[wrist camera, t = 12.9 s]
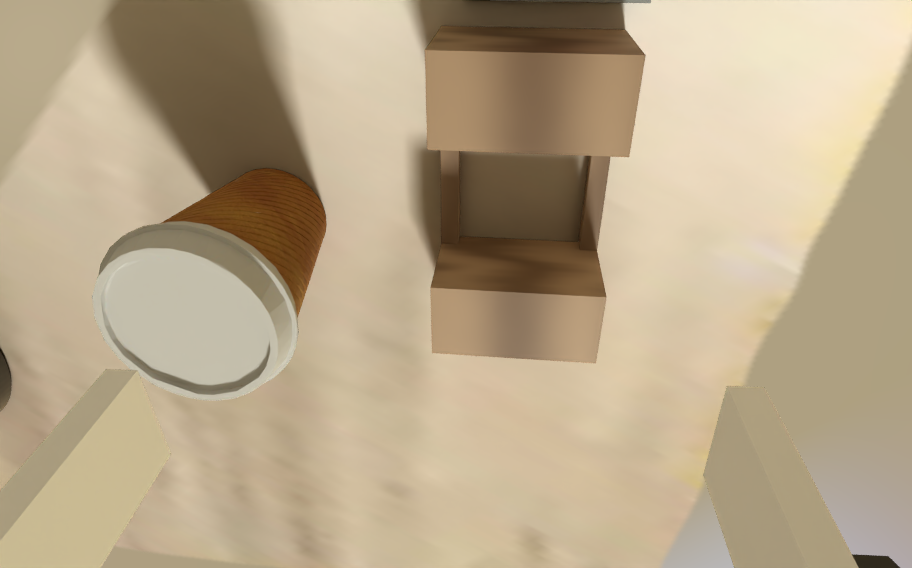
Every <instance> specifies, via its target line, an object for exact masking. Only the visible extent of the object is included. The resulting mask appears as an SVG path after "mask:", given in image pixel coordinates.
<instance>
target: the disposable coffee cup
mask: <svg viewBox="0 0 912 568" xmlns="http://www.w3.org/2000/svg"><path fill="white" fill-rule="evenodd" d="M325 232H326V215H325V212H324V208H323V206H322V204H321V202H320V200H319V198H318V197H317V195H316V194H315V193H314V192H313V190H312V189H311V188H310V187H309V186H308V185H307V184H306V183H305V182H303V181H302V180H300V179H299V178H297V177H295V176H294V175H292V174H289V173H287V172H284V171H281V170H277V169H268V168H263V169H255V170H252V171H250V172H247V173H245V174H244V175H242V176H240V177H239V178H237V179H235V180H234V181H232V182H230V183H229V184H227V185H225V186H223V187H222V188H220V189H218V190H217V191H215V192H213V193H211V194H210V195H208V196H206V197H205V198H203V199H201V200H200V201H198V202H196V203H194V204H193V205H191V206H189V207H187V208H186V209H184V210H183V211H181V212H179V213H177V214H176V215H174V216H172V217H171V218H169V219H167V220H165V221H164V222H162V223H160V224H154V225H147V226H143V227H140V228H138V229H136V230H134V231H131V232H129V233H127V234H126V235H124V236H123V237H121V238H120V239H119V240H118V241H117V242H116V243H114V244H113V245H112V246H111V247H110V248H109V250H108V252H107V254H106V255H105V257H104V259H103V261H102V263H101V265H100V270H99V276H98V278H97V281H96V284H95V288H94V292H93V295H92V300H93V309H94V317H95V321H96V323H97V325H98V327H99V329H100V331H101V334H102V336H103V338H104V340H105V342H106V343H107V344H108V346H109V347H110V348H111V349H112V351H113V352H114V353H115V354H116V356H117V357H118V358H119V359H120V360H121V361H122V362H123V363H124V364H125V365H126V366H128V367H129V368H130V369H131V370H138V372H139V375H140V376H142V377H143V378H145V379H146V380H148V381H149V382H151V383H152V384H154V385H155V386H157V387H160V388H162V389H164V390H167V391H169V392H171V393H174V394H177V395H181V396H184V397H188V398H193V399H199V400H216V401H217V400H226V399H235V398H237V397H240V396H243V395H245V394H248V393H251V392H252V391H254V390H255V389H257V388H258V387H259V386H261V385H262V384H263V383H265V382H267V381H269V380H272V379H273V378H274V377H275V376H276V375H278V374H279V373H280V372H281V371H282V370H283V369H284V368H285V367H286V365H287V364H288V362H289V361H290V359H291V358H292V356H293V354H294V351H295V348H296V343H297V338H298V332H299V331H298V321H297V318H298V314H299V312H300V308H301V306H302V302H303V299H304V296H305V293H306V290H307V287H308V284H309V281H310V278H311V275H312V272H313V268H314V266H315V262H316V259H317V256H318V253H319V250H320V247H321V244H322V241H323V238H324V235H325Z"/></svg>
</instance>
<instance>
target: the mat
mask: <svg viewBox="0 0 912 568" xmlns="http://www.w3.org/2000/svg"><path fill="white" fill-rule="evenodd" d="M492 1H553V2H614V3H651V0H492Z"/></svg>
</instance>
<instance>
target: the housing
mask: <svg viewBox="0 0 912 568" xmlns="http://www.w3.org/2000/svg"><path fill="white" fill-rule="evenodd" d="M644 61H645V54H644V53H643V52H642V50H641V49H640V48H639V46H638V45H637V44H636V43H635V41H634V40H633V39H632V37H631V36H630V35H629V34H628V32H627V31H626V30H616V29H566V28H515V27H465V26H441V28H440V29H439V30H438V32H437V33H436V35H435V36H434V38H433V39H432V41H431V42H430V44H429V45H428V47H427V48H426V50H425V70H426V113H427V150H440V151H441V240H442V243H441V247H440V251H439V256H438V260H437V264H436V268H435V272H434V276H433V280H432V284H431V330H432V353H441V354H457V355H473V356H488V357H504V358H520V359H536V360H551V361H567V362H583V363H596V359H597V353H598V346H599V340H600V334H601V328H602V322H603V315H604V309H605V303H606V293H605V288H604V283H603V278H602V273H601V269H600V264H599V259H598V254H597V247H598V240H599V233H600V226H601V219H602V212H603V205H604V198H605V191H606V184H607V177H608V170H609V163H610V156H611V157H629V154H630V148H631V142H632V136H633V129H634V123H635V117H636V111H637V105H638V98H639V92H640V86H641V80H642V74H643V67H644ZM460 151H474V152H501V153H529V154H556V155H584V156H589V161H588V169H587V177H586V185H585V193H584V202H583V210H582V218H581V226H580V234H579V242H568V241H547V240H526V239H505V238H484V237H463V236H460Z"/></svg>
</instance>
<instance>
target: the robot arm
mask: <svg viewBox="0 0 912 568" xmlns="http://www.w3.org/2000/svg"><path fill="white" fill-rule="evenodd" d="M10 394H11V377H10V373H9V369H8V366H7V364H6V361H5V359H4V357H3V355H2V354H1V352H0V411H1V410H2V409H3V408H4V407H5V406H6V404H7V402H8V400H9V398H10ZM170 455H171V453H170V450H169V448H168V445H167V443H166V440H165V438H164V435H163V433H162V430H161V428H160V425H159V423H158V420H157V418H156V415H155V413H154V410H153V408H152V405H151V403H150V400H149V398H148V395H147V393H146V390H145V387H144V385H143V382H142V380H141V377H140V375H139V372H138V370H110V369H106V370H105V371H104V372H103V373H102V375H101V376H100V377H99V378H98V379H97V380H96V381H95V383H94V384H93V385H92V386H91V387H90V388H89V390H88V391H87V392H86V393H85V394H84V395H83V396H82V398H81V399H80V400H79V401H78V402H77V403H76V404H75V406H74V407H73V408H72V409H71V410H70V411H69V412H68V414H67V415H66V416H65V417H64V418H63V419H62V420H61V422H60V423H59V424H58V425H57V426H56V427H55V428H54V430H53V431H52V432H51V433H50V434H49V435H48V436H47V438H46V439H45V440H44V441H43V442H42V443H41V444H40V446H39V447H38V448H37V449H36V450H35V451H34V452H33V454H32V455H31V456H30V457H29V458H28V459H27V460H26V462H25V463H24V464H23V465H22V466H21V467H20V468H19V470H18V471H17V472H16V473H15V474H14V475H13V476H12V478H11V479H10V480H9V481H8V482H7V483H6V484H5V486H4V487H3V488H2V489H1V490H0V568H101V566H102V565H103V563H104V561H105V560H106V558H107V557H108V555H109V553H110V552H111V550H112V549H113V547H114V545H115V544H116V542H117V541H118V539H119V537H120V536H121V534H122V533H123V531H124V529H125V528H126V526H127V525H128V523H129V521H130V520H131V518H132V516H133V515H134V513H135V512H136V510H137V508H138V507H139V505H140V504H141V502H142V500H143V499H144V497H145V496H146V494H147V492H148V491H149V489H150V487H151V486H152V484H153V483H154V481H155V479H156V478H157V476H158V475H159V473H160V471H161V470H162V468H163V467H164V465H165V463H166V462H167V460H168V458H169V457H170ZM703 476H704V479H705V482H706V485H707V488H708V490H709V494H710V496H711V500H712V502H713V505H714V509H715V512H716V515H717V518H718V521H719V524H720V526H721V529H722V532H723V535H724V538H725V541H726V544H727V547H728V550H729V553H730V556H731V559H732V562H733V565H734V568H900V567H899V566H898V565H897V564H896V563H895V562H894V561H893V560H892V559H890V558H889V557H888V556H872V555H852V554H851V552H850V550H849V548H848V546H847V544H846V542H845V541H844V539H843V537H842V535H841V533H840V531H839V529H838V527H837V525H836V523H835V522H834V519H833V518H832V516H831V514H830V512H829V510H828V508H827V506H826V504H825V502H824V500H823V498H822V496H821V495H820V493H819V491H818V489H817V487H816V485H815V483H814V481H813V479H812V478H811V475H810V473H809V472H808V470H807V468H806V466H805V464H804V462H803V460H802V458H801V456H800V454H799V452H798V451H797V449H796V447H795V445H794V443H793V441H792V439H791V437H790V435H789V433H788V432H787V429H786V428H785V426H784V424H783V422H782V420H781V418H780V416H779V414H778V412H777V411H776V408H775V406H774V405H773V403H772V401H771V399H770V397H769V395H768V393H767V391H766V389H765V387H741V386H727V388H726V391H725V395H724V399H723V403H722V406H721V410H720V414H719V418H718V421H717V425H716V429H715V433H714V436H713V440H712V444H711V448H710V451H709V455H708V459H707V463H706V466H705V470H704V474H703Z"/></svg>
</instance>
